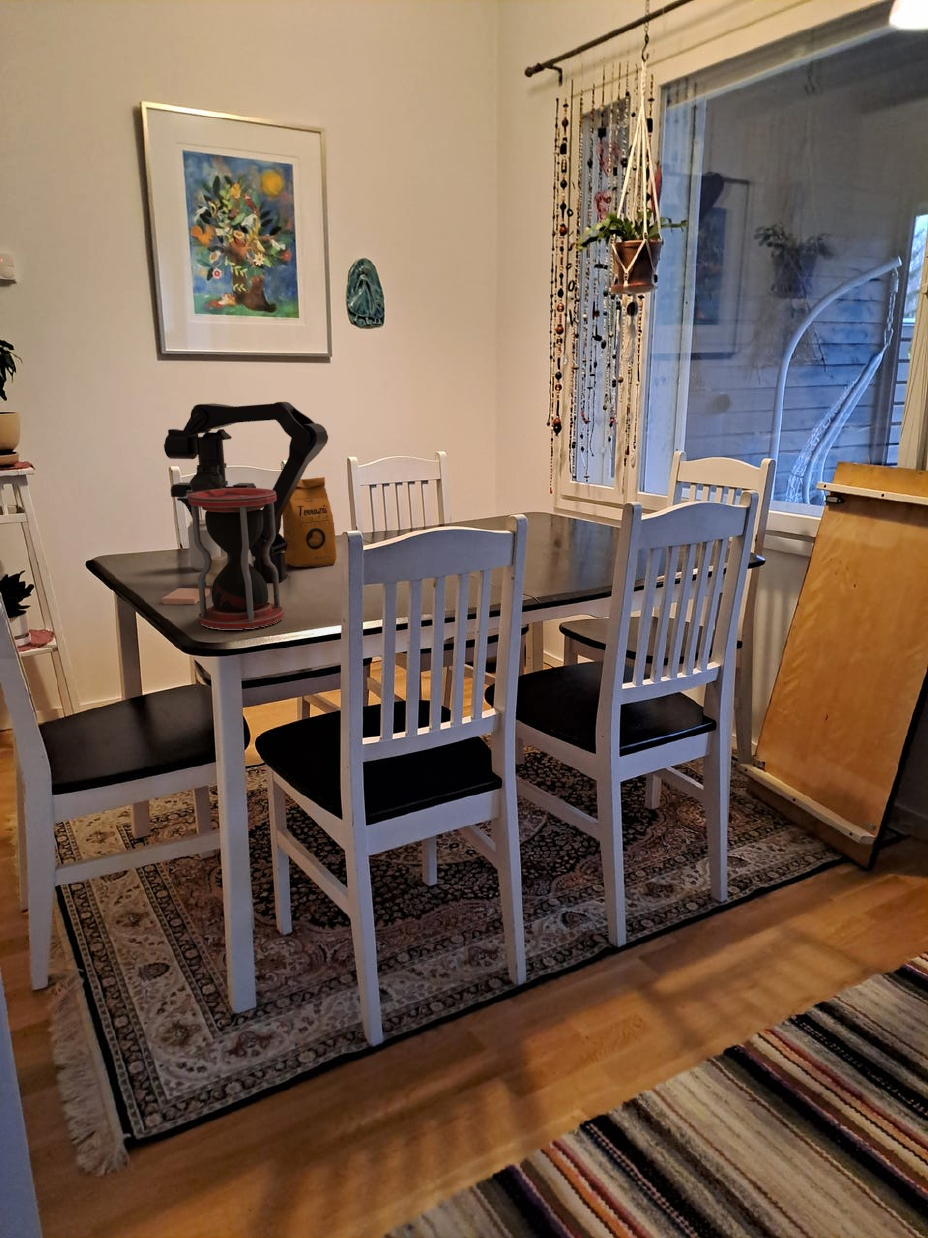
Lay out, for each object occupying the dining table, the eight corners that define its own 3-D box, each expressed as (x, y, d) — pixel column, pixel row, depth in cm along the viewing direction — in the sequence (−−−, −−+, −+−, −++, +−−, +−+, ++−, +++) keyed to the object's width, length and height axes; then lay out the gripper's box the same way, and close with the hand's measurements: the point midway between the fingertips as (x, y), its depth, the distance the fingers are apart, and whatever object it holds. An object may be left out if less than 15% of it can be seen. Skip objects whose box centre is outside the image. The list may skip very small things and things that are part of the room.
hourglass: (270, 605, 178) (262, 485, 171) (294, 624, 164) (286, 494, 158) (191, 615, 171) (179, 490, 164) (209, 636, 157) (197, 500, 150)
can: (184, 569, 212) (179, 521, 209) (206, 564, 218) (202, 517, 215) (207, 572, 209) (202, 523, 205) (228, 566, 215) (224, 519, 212)
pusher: (229, 582, 199) (227, 556, 198) (223, 586, 195) (221, 560, 194) (213, 581, 200) (211, 556, 198) (206, 585, 196) (204, 559, 194)
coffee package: (340, 566, 215) (336, 478, 210) (292, 571, 210) (286, 481, 204) (328, 559, 224) (324, 474, 218) (281, 563, 219) (276, 477, 213)
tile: (209, 588, 187) (194, 599, 179) (210, 596, 188) (194, 606, 179) (178, 588, 188) (161, 598, 179) (179, 595, 188) (162, 606, 180)
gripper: (157, 462, 190) (164, 532, 194) (238, 463, 188) (244, 533, 192) (177, 458, 201) (183, 524, 205) (255, 458, 199) (259, 525, 203)
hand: (216, 526), depth 201 cm, fingers open, 9 cm apart
